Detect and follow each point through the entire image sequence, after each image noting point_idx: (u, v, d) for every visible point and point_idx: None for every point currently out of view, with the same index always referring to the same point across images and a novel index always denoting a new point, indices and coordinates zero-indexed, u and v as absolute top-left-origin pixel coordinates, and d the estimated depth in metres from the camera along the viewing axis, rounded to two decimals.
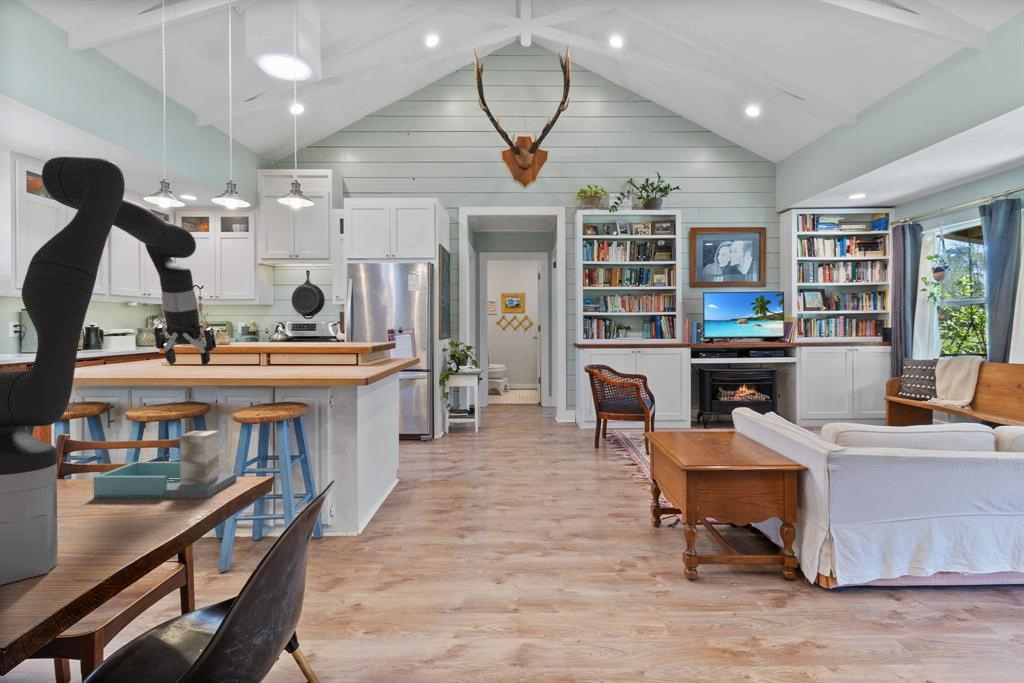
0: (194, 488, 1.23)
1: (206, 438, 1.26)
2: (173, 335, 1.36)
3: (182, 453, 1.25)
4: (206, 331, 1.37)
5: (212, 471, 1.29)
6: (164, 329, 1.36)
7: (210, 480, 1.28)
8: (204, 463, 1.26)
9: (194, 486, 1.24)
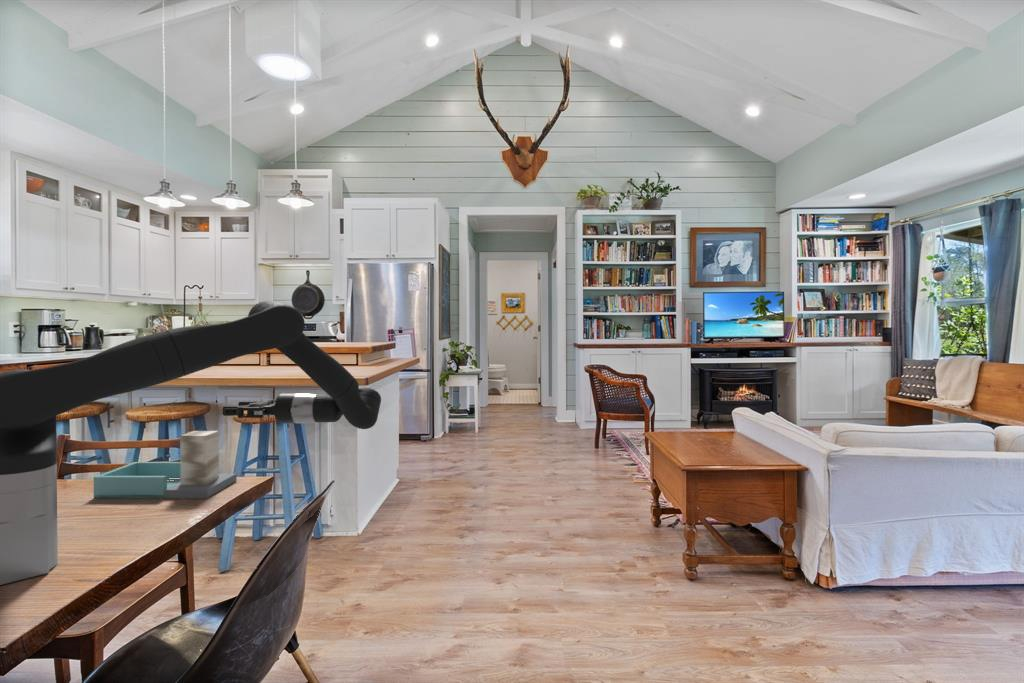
0: (194, 488, 1.23)
1: (206, 438, 1.26)
2: (270, 399, 1.31)
3: (182, 453, 1.25)
4: (261, 407, 1.23)
5: (212, 471, 1.29)
6: None
7: (210, 480, 1.28)
8: (204, 463, 1.26)
9: (194, 486, 1.24)
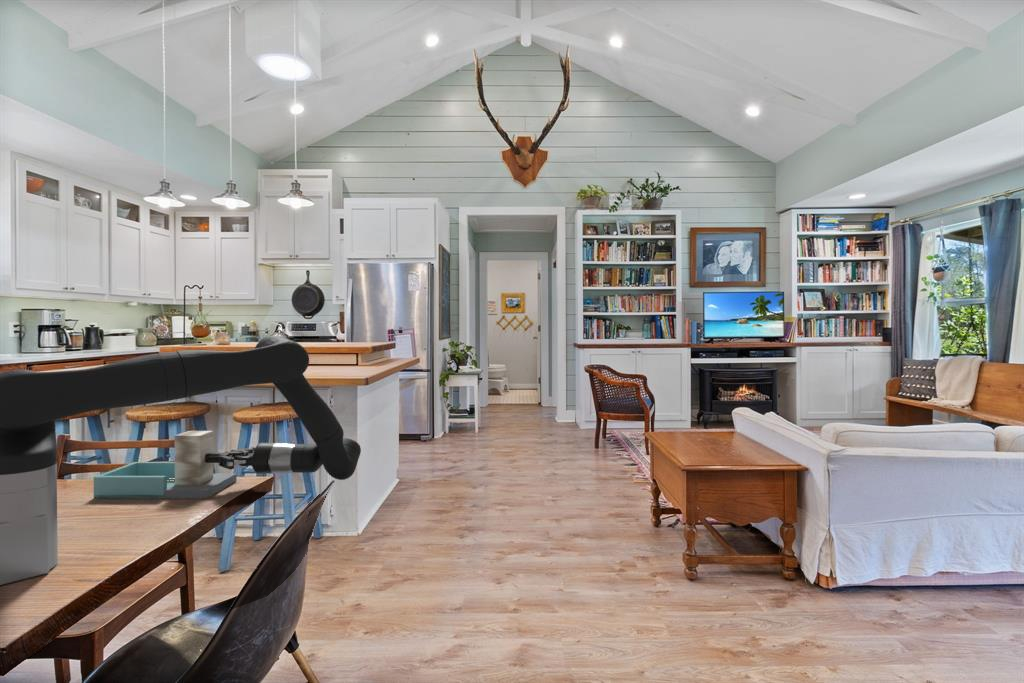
0: (194, 488, 1.23)
1: (201, 438, 1.26)
2: (248, 448, 1.30)
3: (176, 453, 1.25)
4: (231, 458, 1.23)
5: (206, 471, 1.29)
6: None
7: (204, 480, 1.28)
8: (199, 463, 1.26)
9: (194, 486, 1.24)
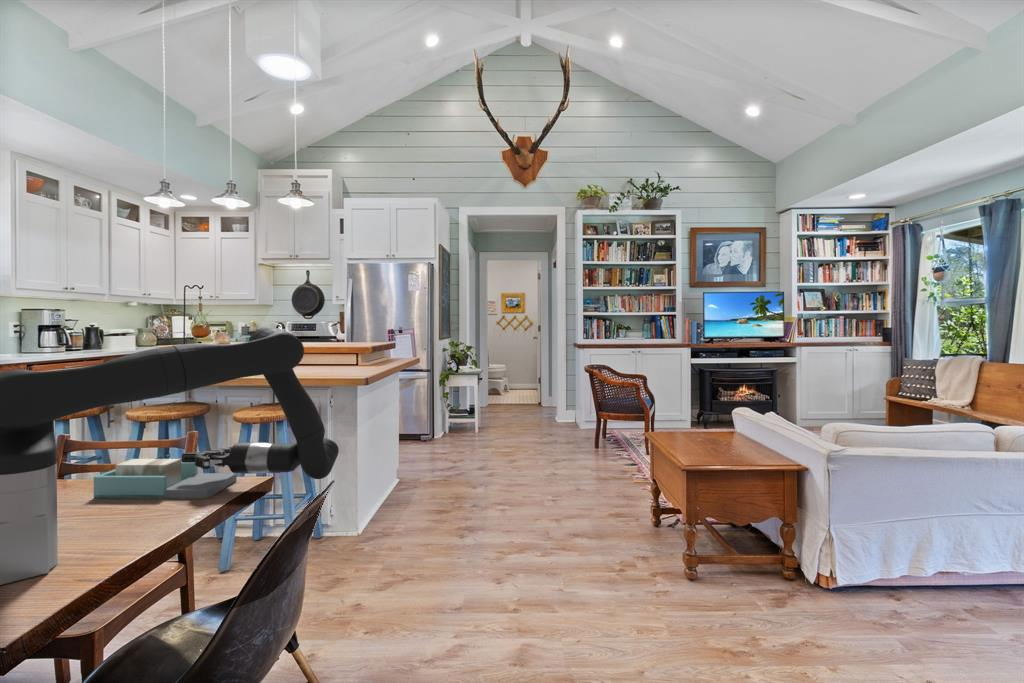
0: (194, 488, 1.23)
1: (120, 464, 1.25)
2: (225, 448, 1.30)
3: None
4: (206, 458, 1.23)
5: (164, 461, 1.28)
6: None
7: (169, 462, 1.28)
8: (144, 466, 1.25)
9: (194, 486, 1.24)
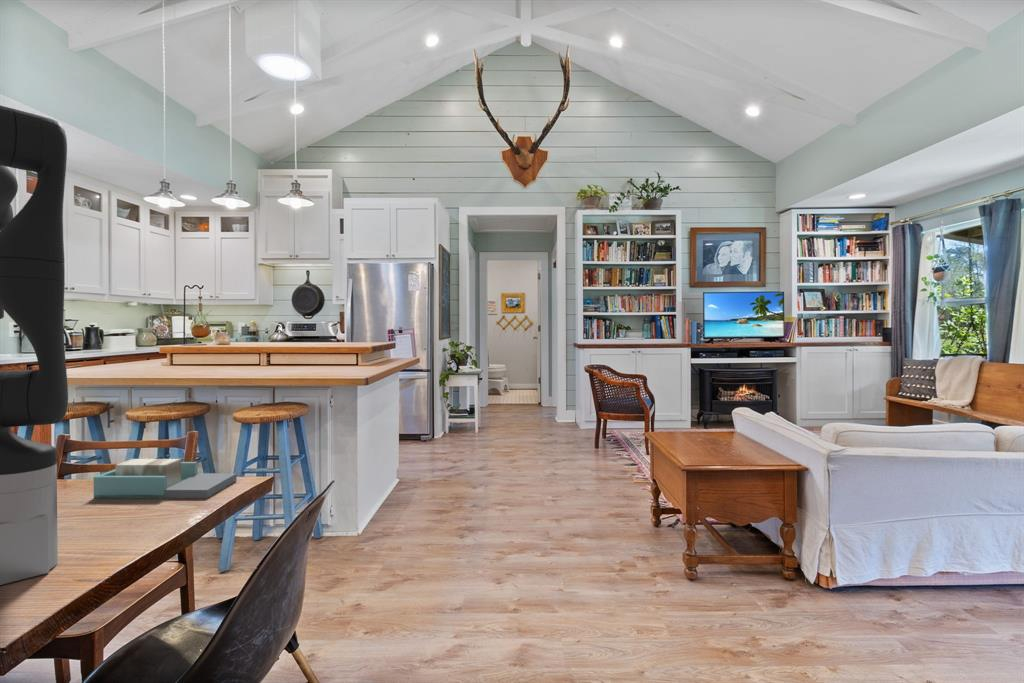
0: (194, 488, 1.23)
1: (120, 464, 1.25)
2: None
3: None
4: None
5: (164, 461, 1.28)
6: None
7: (169, 462, 1.28)
8: (144, 466, 1.25)
9: (194, 486, 1.24)
